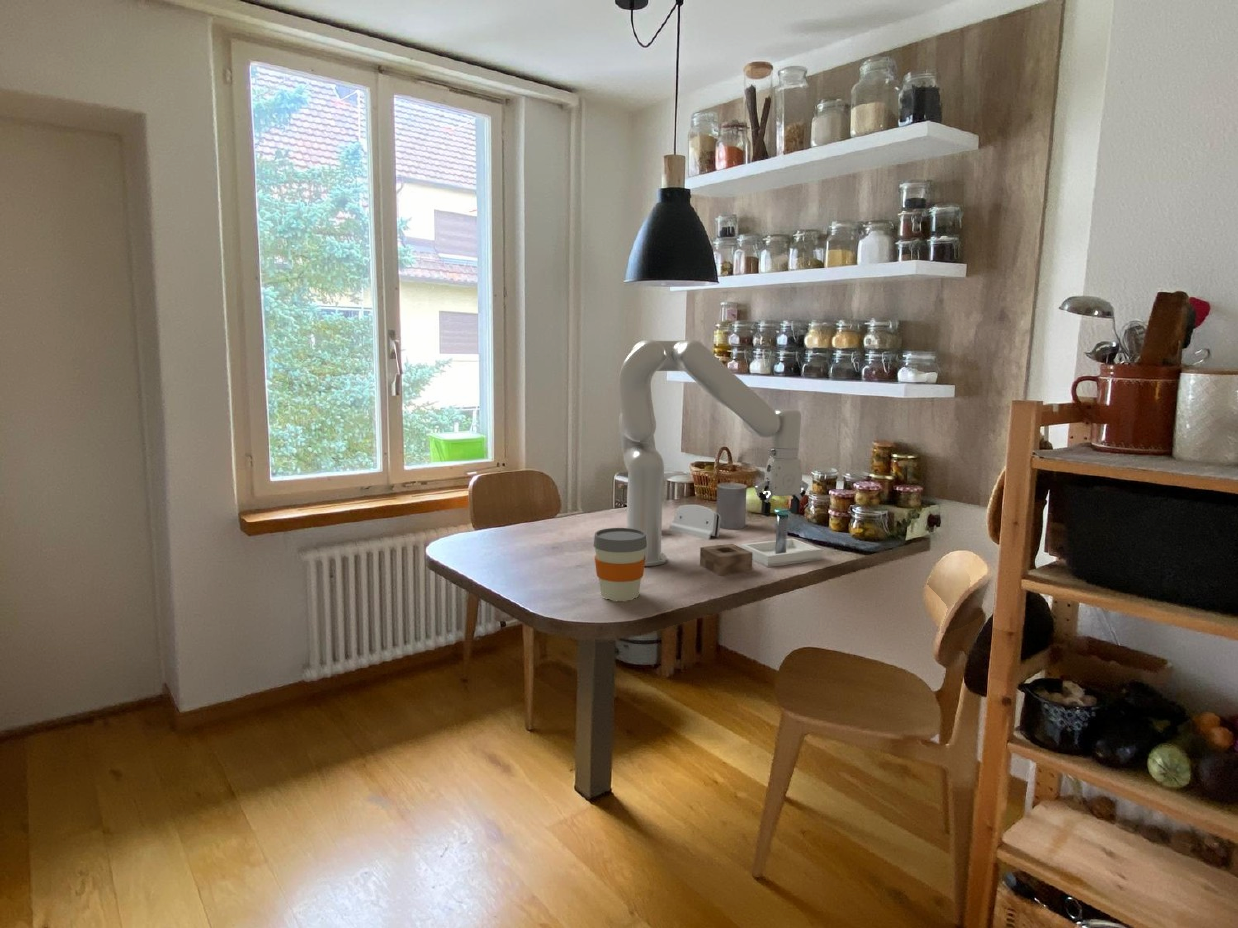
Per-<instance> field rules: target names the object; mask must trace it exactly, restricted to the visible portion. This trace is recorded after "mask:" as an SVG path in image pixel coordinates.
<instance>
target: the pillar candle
mask: <svg viewBox="0 0 1238 928" xmlns="http://www.w3.org/2000/svg"><path fill="white" fill-rule="evenodd" d="M716 486H717V487H716V511H715V512H716V513H718V514H719V515H720V516H721V520H720V528H721V529H725V530H741V529H743V528H745V527H746V516H747V515H746V514H747V492H748V491H747V490H748V485H746V484H745V483H744V484H743V483H740V482H739V483H738V482H721V483H717V485H716Z"/></svg>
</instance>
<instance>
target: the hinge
mask: <svg viewBox="0 0 1238 928" xmlns="http://www.w3.org/2000/svg"><path fill="white" fill-rule="evenodd" d="M720 520H721V516H720V515H719V514H718V513H716V511H715V510H713V509H711V508H709V507H707V506H703V505H699V504H685V505H684V504H683V505H680V506H678V507H677V509H676V512H675V515H674V517H673V520H672V522H671V524H670V525H669V526H668V532H674V533H678V534H682V535H686V536H691V537H697V538H701V539H703V540H710V539H711V536H712V537H716V538H719V535H720Z"/></svg>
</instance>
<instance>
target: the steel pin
mask: <svg viewBox="0 0 1238 928" xmlns="http://www.w3.org/2000/svg"><path fill="white" fill-rule="evenodd" d="M773 513H774V514H775V515H776V526H775V527H776V528H775V531H776V532H775V540H776V549H775V554H780V553H786V547H787V539H788V524H789V523H788V521H789V520H788V519H789V515H791V514H792V513H791V510H790V508H781V507H780V508H779V507H778V508H777V507H776V508H774V510H773Z"/></svg>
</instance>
